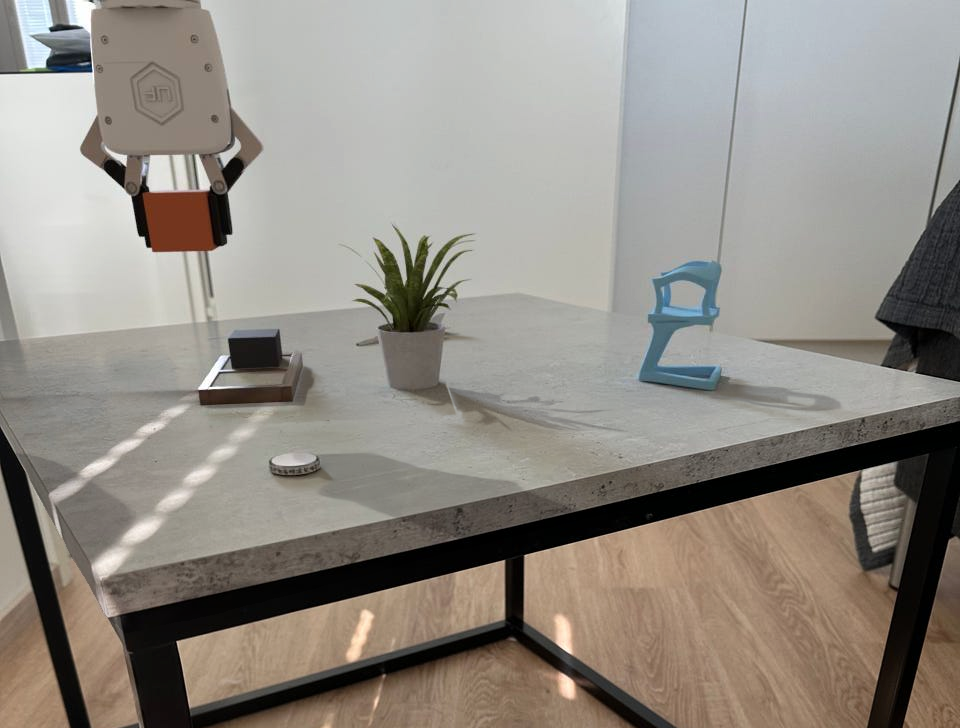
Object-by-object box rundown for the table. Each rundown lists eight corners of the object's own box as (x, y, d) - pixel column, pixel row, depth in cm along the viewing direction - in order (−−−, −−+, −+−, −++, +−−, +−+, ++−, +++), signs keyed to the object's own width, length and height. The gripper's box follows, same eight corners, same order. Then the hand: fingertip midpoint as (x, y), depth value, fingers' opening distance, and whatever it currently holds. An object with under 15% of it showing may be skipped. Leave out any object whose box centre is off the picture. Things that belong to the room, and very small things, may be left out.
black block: (233, 381, 99) (227, 338, 97) (239, 371, 103) (233, 330, 101) (280, 379, 100) (275, 336, 97) (284, 370, 104) (279, 328, 102)
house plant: (516, 381, 100) (516, 215, 92) (452, 410, 89) (447, 225, 81) (404, 369, 106) (396, 212, 98) (332, 395, 95) (316, 221, 87)
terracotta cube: (152, 252, 77) (142, 193, 75) (164, 246, 82) (155, 190, 80) (212, 250, 78) (204, 191, 76) (222, 245, 82) (214, 189, 80)
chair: (646, 370, 103) (654, 254, 98) (722, 374, 101) (734, 256, 95) (632, 385, 97) (640, 263, 91) (713, 390, 94) (726, 265, 89)
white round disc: (321, 472, 72) (321, 464, 72) (269, 476, 71) (268, 468, 71) (318, 457, 75) (318, 450, 75) (269, 461, 75) (268, 453, 74)
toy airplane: (335, 346, 119) (333, 327, 118) (444, 323, 133) (443, 306, 132) (377, 353, 114) (376, 333, 113) (485, 328, 128) (484, 311, 127)
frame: (200, 410, 90) (197, 389, 89) (223, 373, 105) (221, 355, 104) (293, 406, 91) (291, 385, 90) (303, 370, 106) (301, 352, 105)
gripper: (18, -17, 67) (73, 252, 76) (254, -18, 68) (283, 247, 77) (51, -2, 74) (98, 244, 82) (266, -3, 75) (291, 239, 84)
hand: (187, 243), depth 80 cm, fingers closed on terracotta cube, 5 cm apart
